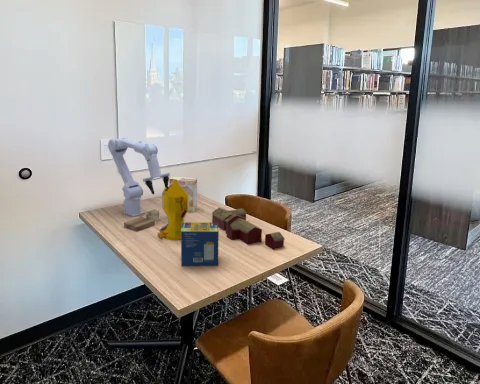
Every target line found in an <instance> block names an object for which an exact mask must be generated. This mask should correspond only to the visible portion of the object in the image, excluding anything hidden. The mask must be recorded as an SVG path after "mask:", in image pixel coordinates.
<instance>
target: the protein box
mask: <svg viewBox="0 0 480 384" xmlns="http://www.w3.org/2000/svg"><path fill="white" fill-rule="evenodd" d="M219 231H220V230H219V227H218V222H212V221H211V222H206V221H205V222H203V221H202V222H201V221H200V222H198V221H197V222H185V221H184V222H183V223H182V228H181V240H180V241H181V242H180V261H181V263H180V265H181V267H218V266H219V243H220V242H219V238H220V237H219V234H220V233H219Z"/></svg>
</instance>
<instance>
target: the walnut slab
mask: <svg viewBox="0 0 480 384" xmlns="http://www.w3.org/2000/svg"><path fill="white" fill-rule="evenodd" d="M155 225H156V220H155V221H154V220H151V219H148V218H146V217H143V216H140V217H138V218H134V219H131V220H128V221H125V222H124V223H123V228H124V229H128V230H131V231H133V232H134V231H135V232H137V233H139V232H140V231H143V230H146V229H149V228H151V227H153V226H155Z"/></svg>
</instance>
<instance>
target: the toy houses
mask: <svg viewBox="0 0 480 384" xmlns="http://www.w3.org/2000/svg"><path fill="white" fill-rule="evenodd" d="M211 215H212V218H211V219H212V220H211V222H218V229H220V230H222V231H223V232H225V234H226V238H227V239H229V240H231V241H235V240H240V241H241V242H243V243H244V244H245V245H247V246H248V245H249V246H251V245H254V244H255V245H256V244H258V243H262V238H263V237H262V233H263V229H262V228H261V227H259V226H257V225H255V224H253V223H252V222H250V221H249V220H247V212H246V211H245V209H244V208H237V209H231V210H227V209H224V208H222V207H218V208H216V209H215V210H213V211H211ZM264 235H265V236H264V245H265V246H266V247H268V248H269V249H271V250H273V251H274V250H277V249H282V248H284V246H285V245H284V244H285V237H284V235H283V234H282V233H281V231H277V232H270V233H267V234H264Z"/></svg>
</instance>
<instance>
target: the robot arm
mask: <svg viewBox="0 0 480 384" xmlns="http://www.w3.org/2000/svg"><path fill="white" fill-rule="evenodd" d="M107 148H108V150H109V152H110V154H111V156H112V159H113V161H114V163H115V166H116V168H117V171H118V172H119V174H120V177H121V179H122V182H123V183H124V185H123V187H122V191H123V197H124V200H123V212H122V213H123V214H125V215H127V216H128V215H129V216H130V217H131V216H132V217H136V216H139V215H142V214H144V213H145V212H144V211H142V210H141V209H142V208H141V207H142V206H141V198H142V196H143V195H144V190H143V188H142V186H141V185H140V184H139V182H137V181H135V179H134V178H133V176H132V173H131V171H130V169H129V167H128V164H127V163H126V160H125V158H124V155H125V154H126V152H127V150H128V148H130V149H133V151H134V152H135V153H138V154H141V155H142V156H143V157H144V160H145V161H146V163H147V168H148V171H149V172H148V173H149V176H150V177H149V176H148V177H145V178H142V182H143V183H144V184H145V186H146V187H147V188H148V189H149V191H150V192H151V194H152V195H154V194H155V190H154V185H153V181H155V180H158V179H162V182H163V184H164V188H165V187H166V188H168V187H169V183H170V180H169V179H170V177H171V173H170V172H166V173H162V170H161V168H160V164H159V160H158V159H159V158H158V157H157V155H158V151H159V150H158V147H157V146H156V145H155V144H151V145H150V144H149V143H144V142H143V141H141V140H140V141H136V142H135V141H133V140H130V139H128V138H125V137H122V138H113V139H109V140H108V144H107Z"/></svg>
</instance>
